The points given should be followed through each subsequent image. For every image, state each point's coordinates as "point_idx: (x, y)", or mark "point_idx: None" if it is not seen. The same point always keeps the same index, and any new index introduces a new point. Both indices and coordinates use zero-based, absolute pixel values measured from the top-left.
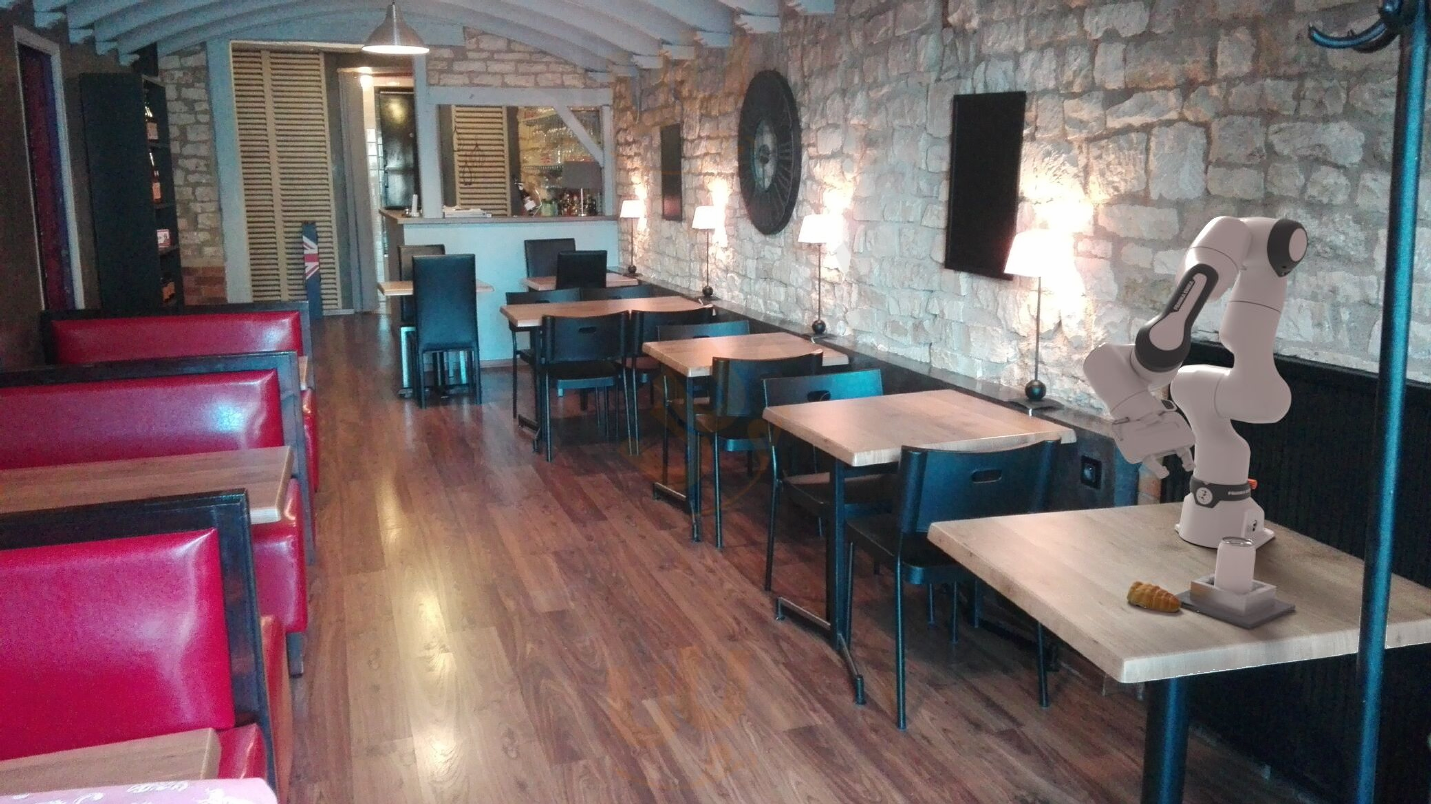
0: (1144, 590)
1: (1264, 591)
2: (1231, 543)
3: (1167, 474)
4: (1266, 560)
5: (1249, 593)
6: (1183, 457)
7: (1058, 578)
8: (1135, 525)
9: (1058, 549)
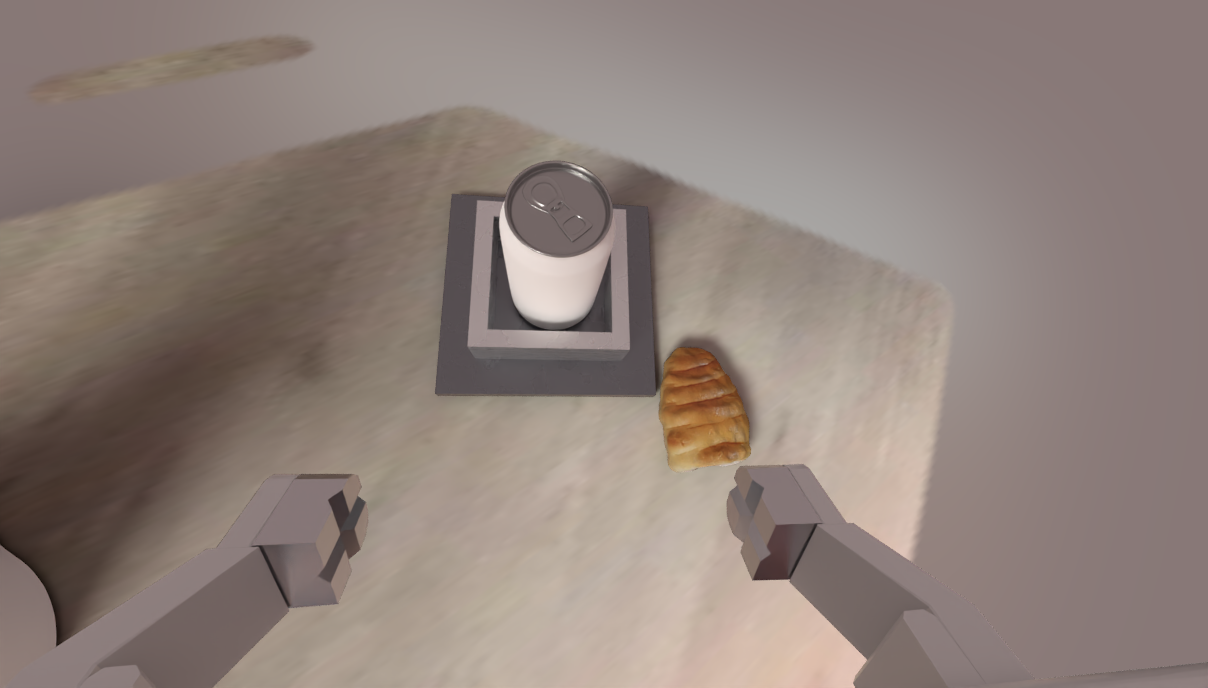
0: (737, 419)
1: None
2: (586, 218)
3: (762, 466)
4: (62, 422)
5: None
6: (188, 684)
7: None
8: None
9: None
